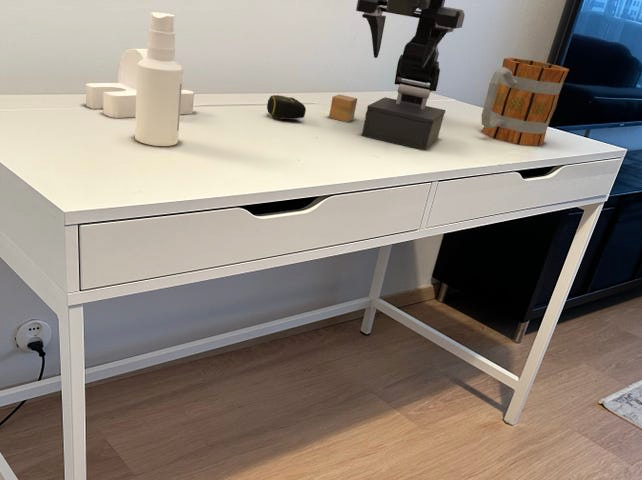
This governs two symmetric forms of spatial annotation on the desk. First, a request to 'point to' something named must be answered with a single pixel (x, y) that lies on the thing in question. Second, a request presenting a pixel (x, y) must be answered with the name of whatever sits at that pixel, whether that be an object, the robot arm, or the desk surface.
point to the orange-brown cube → (343, 108)
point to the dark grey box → (401, 130)
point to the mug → (522, 101)
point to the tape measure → (285, 107)
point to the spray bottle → (159, 86)
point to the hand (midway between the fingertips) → (398, 62)
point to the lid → (408, 105)
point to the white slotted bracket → (126, 90)
